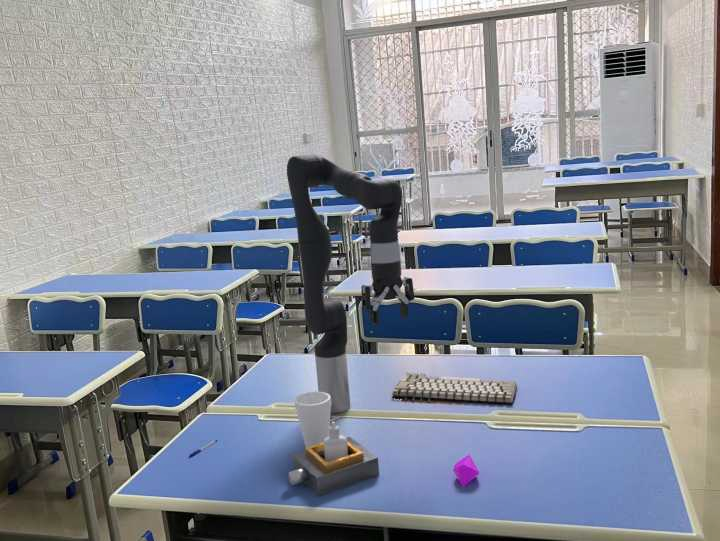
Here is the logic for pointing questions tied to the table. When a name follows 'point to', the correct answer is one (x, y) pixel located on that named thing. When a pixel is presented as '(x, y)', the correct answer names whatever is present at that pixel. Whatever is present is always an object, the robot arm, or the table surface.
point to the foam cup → (314, 416)
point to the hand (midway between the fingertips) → (389, 320)
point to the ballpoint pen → (201, 449)
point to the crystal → (465, 470)
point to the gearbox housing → (333, 468)
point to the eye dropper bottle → (335, 444)
